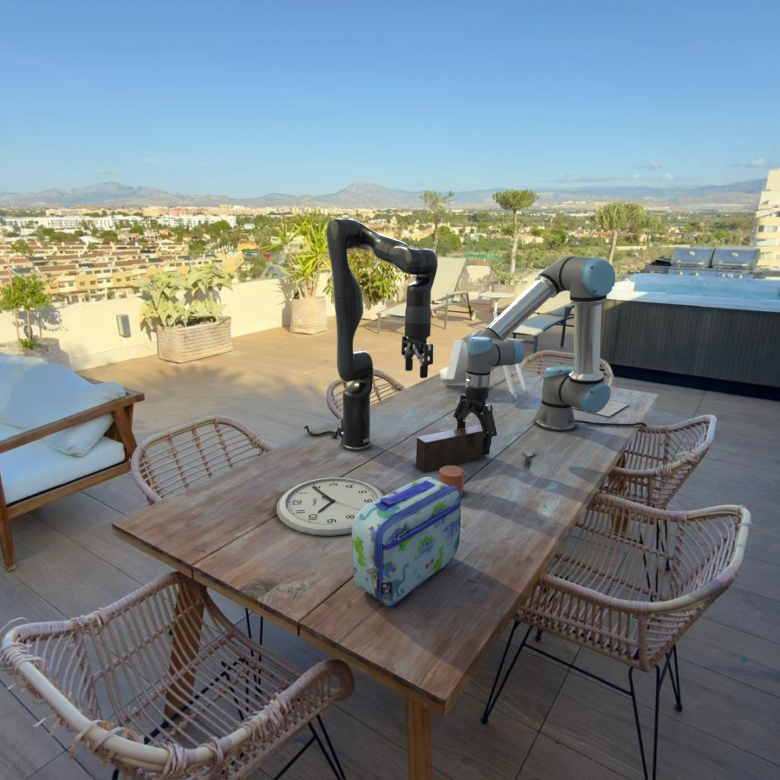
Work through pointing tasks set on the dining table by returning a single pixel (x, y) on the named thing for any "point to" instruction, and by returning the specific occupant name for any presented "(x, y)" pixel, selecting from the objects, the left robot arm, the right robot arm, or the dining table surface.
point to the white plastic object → (459, 367)
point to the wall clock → (325, 505)
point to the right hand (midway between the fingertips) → (472, 446)
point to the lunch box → (405, 538)
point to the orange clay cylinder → (452, 477)
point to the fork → (528, 455)
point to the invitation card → (611, 408)
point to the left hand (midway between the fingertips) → (416, 374)
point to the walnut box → (449, 448)
